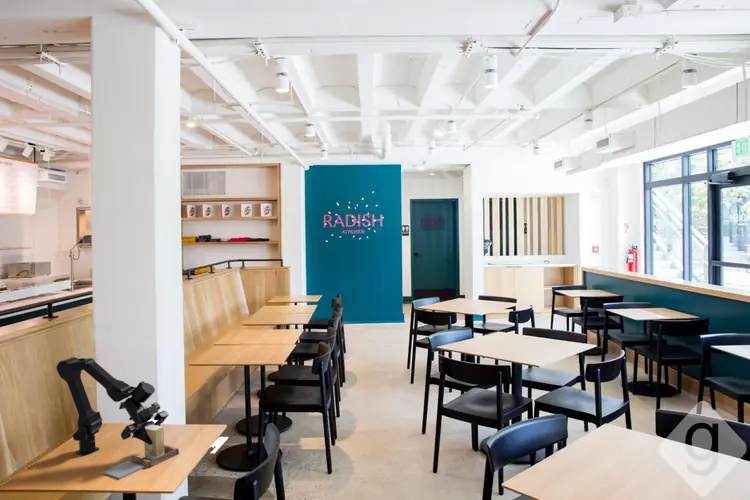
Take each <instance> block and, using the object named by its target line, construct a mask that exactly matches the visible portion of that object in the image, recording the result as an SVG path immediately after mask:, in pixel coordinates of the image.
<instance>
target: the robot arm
mask: <svg viewBox="0 0 750 500" xmlns="http://www.w3.org/2000/svg"><path fill="white" fill-rule="evenodd" d="M55 368H56V371H57V374H58V375H59V377H60V378H61V379H62V380H63V381H65V382H66V383H67V385H68V389H69V392H70V396H71V397H72V399H73V402H74V406H75V407H76V408H75V409H76V411H77V414H78V417H77V423H76V424H77V428H78V429H77V430H76V431H75V432H74V433H73V434H72V437H73V441H75V442H76V441H78V447H79V448H78V449H77V450H75V454H79V455H81V456H86V455H88V454H92V453H94V452H96V451H99V450H100V447H97V446H96V434H98V433H99V432H100V429H101V428H102V426H103V418H102V415H101V413H100V411H95V410H94V409H93V408H92V405H91V403H90V400H89V398H88V395H87V392H86V388H85V387H84V384H83V383H84V382H83V381H82V377H81V374H82V371H84V372H85V373H87V374H88V375H89V376H90V377H92V378H93V380H95V381H96V382H97V383H98V384H100V385H101V386H102V387H103V388H104V389H105V390H106V394H107V396H108V397H109V398H110V399H111V400H112V402H114V403H118V402H119V403H120V405H119V406H118V407H119V408H118V409H119V410H124V409H125V410H126V412H127V413H128V415H129V418H128V419H129V421H132V422H133V423H131V424H129V425H126V426H125V427H124V429H123V430H122V431H121V433H120V437H121V438H122V440H123V441H124V440H127V439H129V438H131V439H138V440H139V441H142V442H143V443H144V442H146V443H148V444H150V445H151V444H152V441H151V439H150V437H149V436H148V434H147V433H146V431H145V428H146V427H148V426H150V425H158V426H161V424H163V423H164V422H165V420H166V419H167V418H168V416H170V414H169V413H168V412H167V410H162V411H159V410H161V405H160V404H159V402H157V401H156V402H153V403H152V404H151V406H149V407H148V406H146V405H145V406H143V404H144V403H145V402H147V400H148V399H149V398H150V397H151V396H152V395H153V394H155V392H156V391H155V390H156V389H155V387H154V386H153V384H150V383H148V382H145V381H144V380H142V381H140V382H139V383H138V384H137V385H136V386H132V385H130V384H128V383H127V382H125V381H124V380H119V379H116V378H115V377H113V375H111V374H110V373H109V372H108V371H107V370H105V369H104V367H102V366H101V365H100V364H98V363H97V362H96V360H95V359H94V358H91V357H88V358H85V357H82V358H80V357H79V358H77V357H75V356H74V357H73V356H72V357H69V358H66V359H63V360H61V361H58V363H57V364H56V367H55ZM123 400H124V401H123ZM154 414H155V415H154Z"/></svg>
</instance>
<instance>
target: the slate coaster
mask: <svg viewBox="0 0 750 500" xmlns="http://www.w3.org/2000/svg"><path fill="white" fill-rule="evenodd" d="M144 468H145V466H143V465H140V464H137V463H134V462H132V461H131V460H126V461H124V462H123V463H122V462H121V463H120V464H117V465H115V466H113V467H110V468H108V469H106V470H104V471H103V472H102V474H103V475H106V476H108V477H111V478H114V479H116V480H121V479H123V478H126V477H128V476H129V475H132V474H134V473H137V472H139V471H140V470H142V469H144Z"/></svg>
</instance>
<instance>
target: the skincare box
mask: <svg viewBox="0 0 750 500" xmlns="http://www.w3.org/2000/svg"><path fill="white" fill-rule="evenodd" d="M145 431H146V433H147V434H148V436H149V437H150V439H151V441H152V444H151V445H150V444H148V443H146V442H144V441H143V443H144V459H146V460H150V461H151V460H153V459H156V458H158V457H160V456H162V455H164V454H165V451H164V445H165V436H164V435H165V434H164V425H163V426H162V425H160V426H158V425H148V426H146V427H145Z"/></svg>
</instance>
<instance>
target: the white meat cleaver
mask: <svg viewBox="0 0 750 500" xmlns="http://www.w3.org/2000/svg"><path fill="white" fill-rule="evenodd" d="M228 439H229V436H219V437H218V438H216V439H215V441H213V443H212V444H211V445H210V446H209V447H210V448H211V449H213V450H212V451H210V452H209V453H210V455H213V454H214V455H215V454H216V452H217V451H218V450H219V449H220V448H221V447H222V445H224V444H225V442H226V441H227V440H228Z"/></svg>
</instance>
